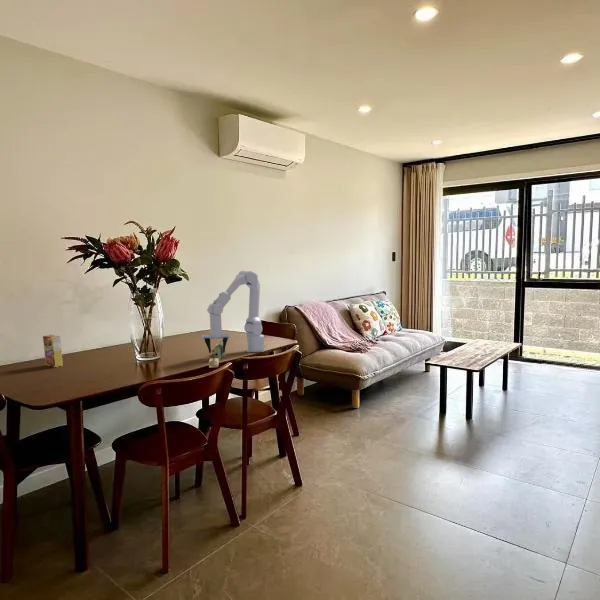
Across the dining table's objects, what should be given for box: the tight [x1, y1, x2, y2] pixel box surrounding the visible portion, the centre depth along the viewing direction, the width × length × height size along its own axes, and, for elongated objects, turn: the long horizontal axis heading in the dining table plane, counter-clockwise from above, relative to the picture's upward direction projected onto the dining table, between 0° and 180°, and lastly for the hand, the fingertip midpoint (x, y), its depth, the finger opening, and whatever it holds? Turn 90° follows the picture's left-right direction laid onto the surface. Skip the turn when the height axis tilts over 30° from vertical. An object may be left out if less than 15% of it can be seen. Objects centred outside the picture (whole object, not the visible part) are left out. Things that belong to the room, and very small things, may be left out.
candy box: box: [42, 334, 64, 368], centre depth 226 cm, size 9×4×15 cm, turn 57°
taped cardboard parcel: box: [208, 343, 220, 368], centre depth 237 cm, size 4×42×3 cm, turn 5°
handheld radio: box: [213, 340, 226, 361], centre depth 237 cm, size 7×3×25 cm
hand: (217, 352), depth 237 cm, fingers open, 6 cm apart
